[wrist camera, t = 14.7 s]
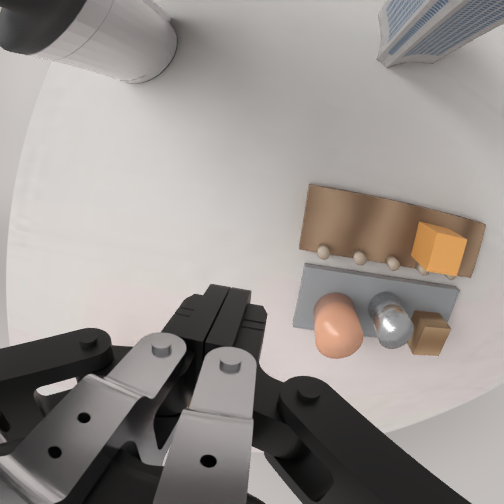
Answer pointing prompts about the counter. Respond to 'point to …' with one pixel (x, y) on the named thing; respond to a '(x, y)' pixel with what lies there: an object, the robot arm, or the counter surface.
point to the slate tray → (369, 294)
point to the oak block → (428, 333)
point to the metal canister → (390, 320)
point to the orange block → (438, 249)
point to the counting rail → (377, 229)
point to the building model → (433, 27)
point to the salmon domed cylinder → (336, 326)
